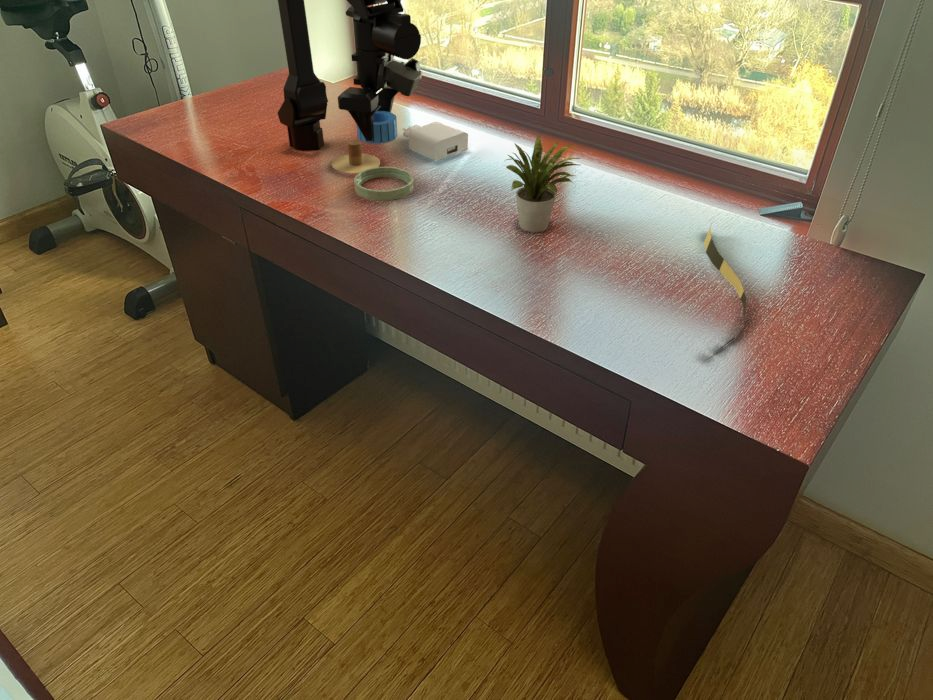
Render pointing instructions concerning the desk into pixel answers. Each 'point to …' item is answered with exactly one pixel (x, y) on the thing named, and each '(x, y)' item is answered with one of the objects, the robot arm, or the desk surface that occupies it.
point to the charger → (436, 140)
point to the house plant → (537, 185)
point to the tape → (724, 271)
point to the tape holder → (355, 159)
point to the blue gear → (382, 128)
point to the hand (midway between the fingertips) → (377, 133)
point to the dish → (383, 172)
